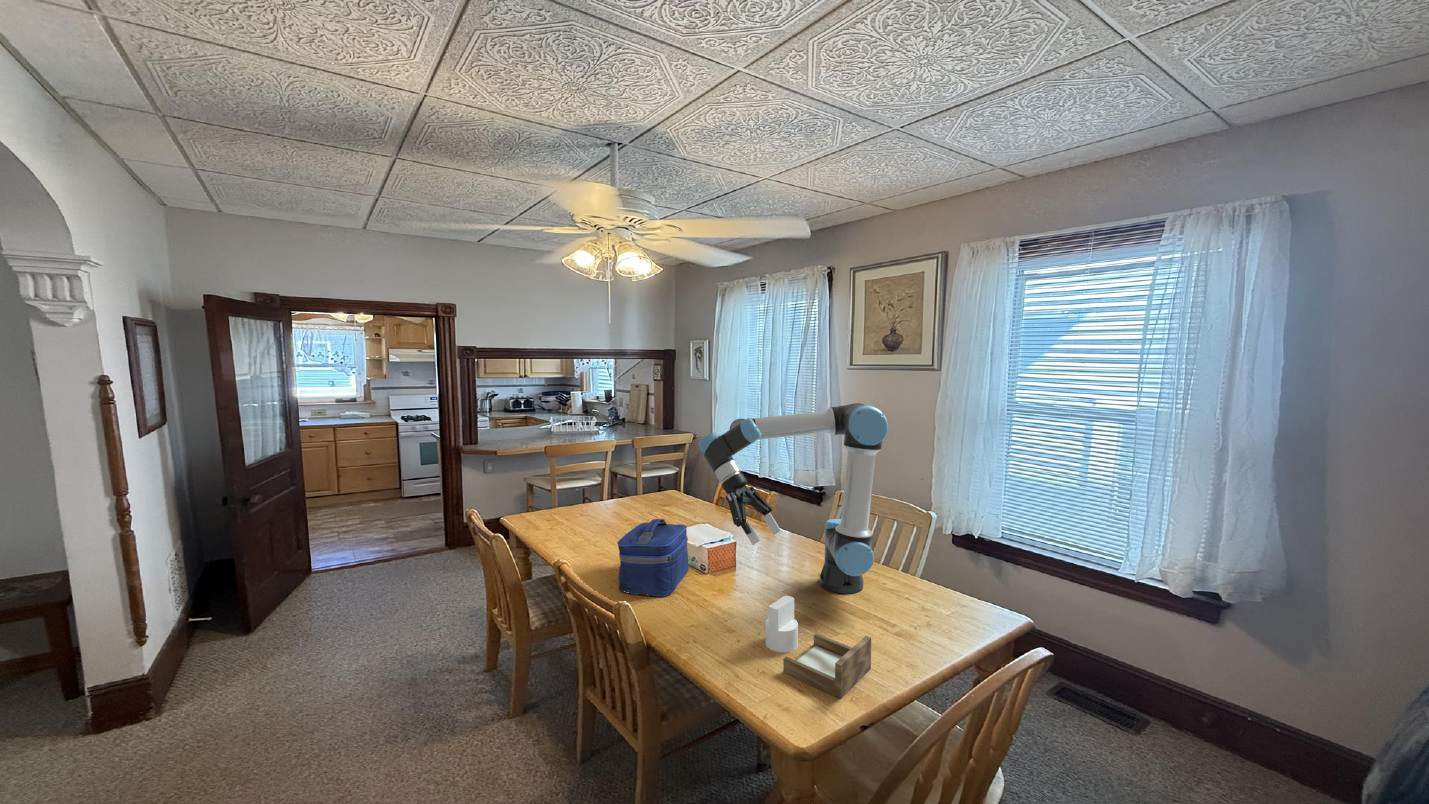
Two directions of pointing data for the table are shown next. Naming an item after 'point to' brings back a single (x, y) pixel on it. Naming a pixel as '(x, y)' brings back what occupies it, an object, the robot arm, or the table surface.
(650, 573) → the lunch bag
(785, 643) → the base with upright slab
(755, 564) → the table surface
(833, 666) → the walnut rest
